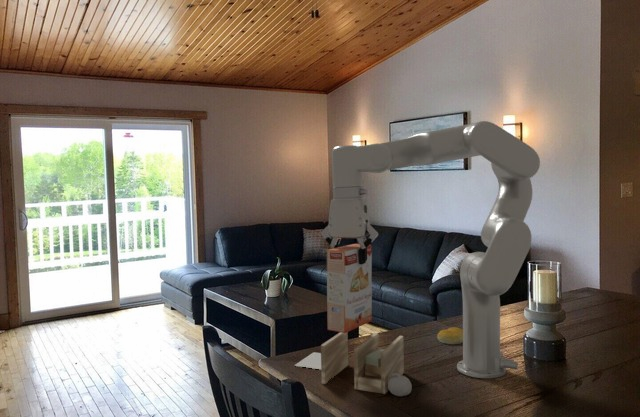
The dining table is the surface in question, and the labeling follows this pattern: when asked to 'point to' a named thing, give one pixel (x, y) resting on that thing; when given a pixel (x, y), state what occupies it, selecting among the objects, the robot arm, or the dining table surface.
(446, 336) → the bread roll
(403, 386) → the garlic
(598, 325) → the dining table surface
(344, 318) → the cracker box
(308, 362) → the mat
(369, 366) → the offcut
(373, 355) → the offcut
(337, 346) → the rack
